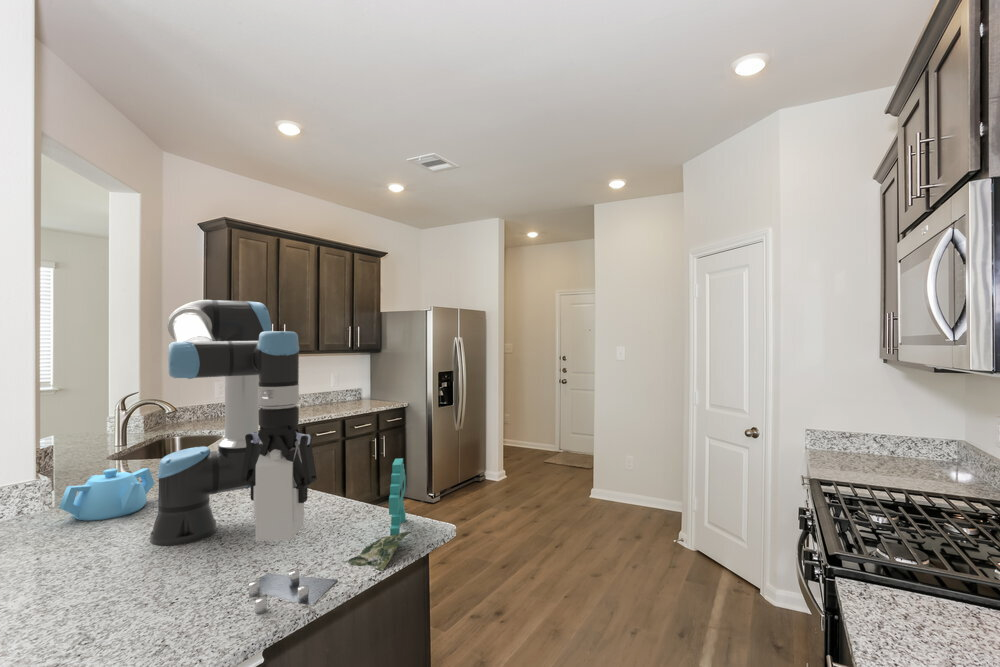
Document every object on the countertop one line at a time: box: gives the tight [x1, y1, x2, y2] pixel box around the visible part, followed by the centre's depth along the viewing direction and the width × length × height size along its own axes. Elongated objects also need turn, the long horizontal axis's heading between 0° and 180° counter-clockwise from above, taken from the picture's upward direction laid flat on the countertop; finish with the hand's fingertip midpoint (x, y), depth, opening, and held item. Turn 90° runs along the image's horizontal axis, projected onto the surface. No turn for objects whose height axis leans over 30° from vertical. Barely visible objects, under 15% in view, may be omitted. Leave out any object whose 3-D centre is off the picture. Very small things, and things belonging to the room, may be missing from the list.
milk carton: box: [255, 440, 305, 542], centre depth 99 cm, size 7×7×19 cm
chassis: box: [247, 569, 339, 615], centre depth 98 cm, size 17×17×4 cm
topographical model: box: [347, 531, 411, 572], centre depth 118 cm, size 16×15×2 cm
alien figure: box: [388, 458, 407, 536], centre depth 134 cm, size 20×2×20 cm, turn 5°
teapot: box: [58, 467, 156, 521], centre depth 148 cm, size 19×19×14 cm
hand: (278, 517), depth 98 cm, fingers closed on milk carton, 8 cm apart
